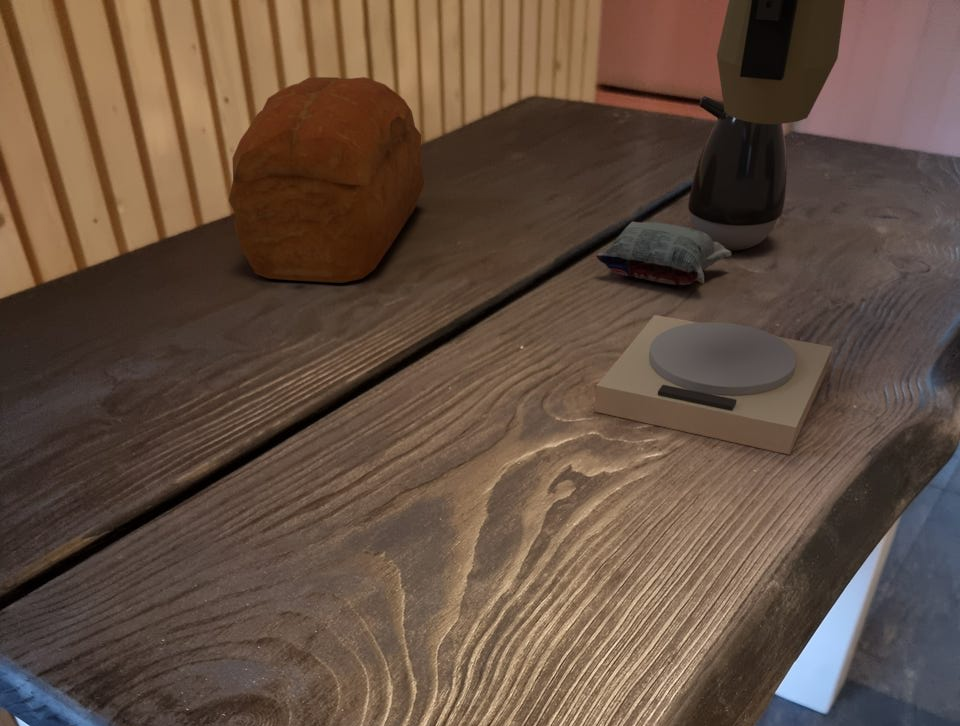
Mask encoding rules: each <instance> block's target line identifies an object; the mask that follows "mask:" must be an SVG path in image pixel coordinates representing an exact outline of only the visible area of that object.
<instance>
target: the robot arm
mask: <svg viewBox="0 0 960 726" xmlns="http://www.w3.org/2000/svg"><path fill="white" fill-rule="evenodd" d="M797 2H798V0H752V3H751V9H750V15H749V22H748V28H747V34H746V41H745V47H744V53H743V60H742V66H741V72H740V77H748V78H759V79H770V80H782V79H783V77H784V72H785V67H786V61H787V56H788V51H789V45H790V40H791V34H792V29H793V24H794V18H795V13H796V7H797Z"/></svg>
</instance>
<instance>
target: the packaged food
mask: <svg viewBox="0 0 960 726" xmlns="http://www.w3.org/2000/svg"><path fill="white" fill-rule="evenodd" d="M732 254H733V253H732V251H731V250H727V249H725V248H724V246H722V245H721V244H719V243H718V242H713V241H712V239H711V238H710V237H709V236H708V235H707V234H706V233H703V232H700V231H698V230H695V229H694V228H692V227H689V226H688V227H687V226H682V225H677V224H671V223H665V222H662V221H661V222H660V221H643V222H638V221H631V222H630V223H629V224H628V225H627V226H626V227H625V228H624V229H623V231H622V232H621V233H620V234H619V235H618V236H617V237H616V239H615V240H614V241H613V242H612V243H611V244H610V245H609V246H608V247H606V248H604V249H603V250H602V251H600V252H599V253H597V254H596V255H595V257H596V258H597V260H598V261H599V262H601V263H602V264H604V265H605V266H606V267H607V268H608V269H609V271H611V272H612V273H614V274H616V275H620V276H625V277H629V278H630V277H631V278H635V279H640V280H646V281H649V282H655V283H659V284H667V285H673V286H686V285H690V284H693V282H695V281H698V282H699V283H701V284H703V285H704V284H705V274H704V272H703V271H704V270H706V269H707V268H708V267H710V266H712V265H714V264H715V263H717V262H718V261H721V260H722V259H723V258H728V257H731V256H733V255H732Z"/></svg>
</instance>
